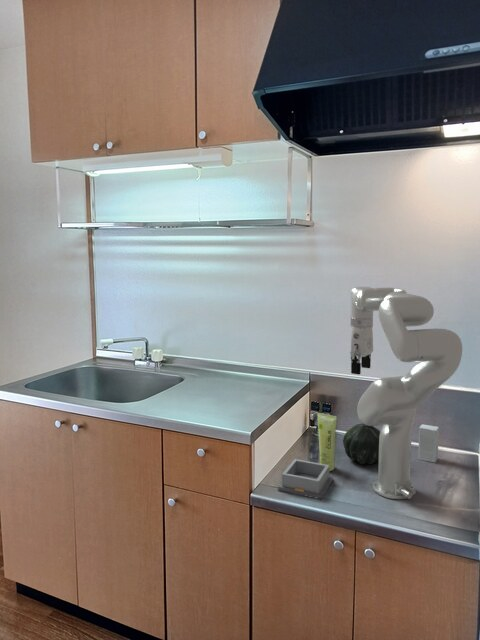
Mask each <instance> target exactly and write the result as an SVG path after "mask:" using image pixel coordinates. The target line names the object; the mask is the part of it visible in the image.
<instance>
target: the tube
mask: <svg viewBox="0 0 480 640" xmlns="http://www.w3.org/2000/svg"><path fill="white" fill-rule="evenodd" d="M316 415H317V426H318V444H319V447H318V450H319V463H320V464H325V465H329V472H331V471H333V470H335V460H336V459H335V457H336V456H335V452H336V451H335V450H336V447H335V446H336V429H337V428H336V427H337V420H338V417H337V416H336V415H330V414H326V413H321V412H317V413H316Z"/></svg>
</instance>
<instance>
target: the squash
mask: <svg viewBox="0 0 480 640" xmlns="http://www.w3.org/2000/svg"><path fill="white" fill-rule="evenodd" d="M380 432H381V430H379V429H378V428H377V427H376V426H367V425H365V424H363V423H362V422H361V423H358V424H355V425H354V426H352V427H351V428H349V429H348V430H347V431H346V432H345V434H344V436H343V439H342V445H343V448H344V452H345V454H346V455H347V457H348V458H350V459H352V460H354V461H357V462H358V463H359V464H360V465H365V464H368V465H372V464H374V463H379V436H380Z"/></svg>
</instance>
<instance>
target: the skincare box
mask: <svg viewBox="0 0 480 640" xmlns="http://www.w3.org/2000/svg"><path fill="white" fill-rule="evenodd" d="M439 428H440V427H439V426H435V425H429V424H421V425H420V426H419V427H418V454H417V455H418V456H417V457H418V459H417V460H421V461H425V462H429V463H430V462H431V463H437V460H438V458H439V432H440V429H439Z"/></svg>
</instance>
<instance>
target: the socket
mask: <svg viewBox="0 0 480 640" xmlns="http://www.w3.org/2000/svg"><path fill="white" fill-rule="evenodd" d="M333 480H334V475H330V471H329V465H325V464H320V462H319V463H318V462H315V461H314V462H313V461H308V460H303V459H297V458H294V459H293V460H292V461H291V463H290V464H289V465H288V466H287V467H286V469H285V470H284V471H283V472H282V474H281V483H279V485H278V486H277V491H279V490H282V491H281V492H284V491H285V492H284V493H288V492H289V493H290V494H293V493H295V494H294V495H298V494H301V495H300V496H303V495H307V496H311V497H310V498H312V497H317V498H321V497H322V496H323V497H324V495H325V494H326V492H327V490H328V488H329V487H330V485H331V483H332V482H333ZM324 493H325V494H324ZM307 496H306V497H307ZM323 497H322V498H323ZM317 498H316V499H317Z"/></svg>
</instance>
